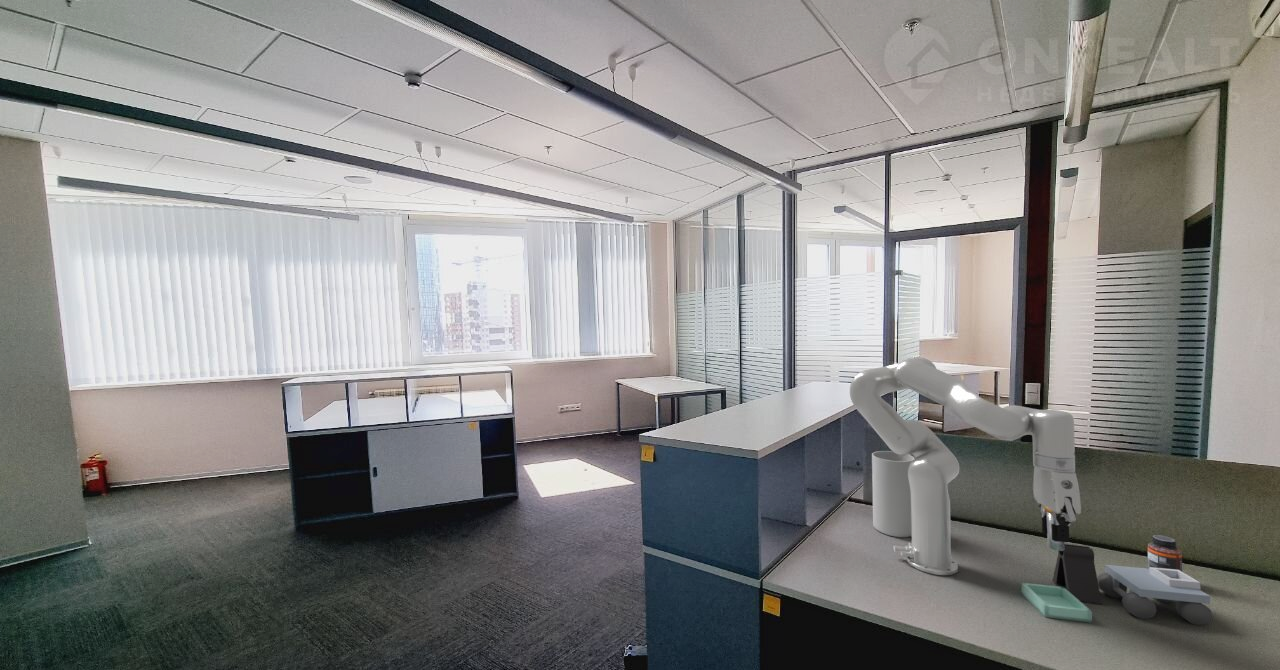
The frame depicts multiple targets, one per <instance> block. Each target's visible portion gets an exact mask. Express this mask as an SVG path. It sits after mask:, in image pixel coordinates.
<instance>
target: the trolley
mask: <svg viewBox="0 0 1280 670" xmlns="http://www.w3.org/2000/svg"><path fill="white" fill-rule="evenodd" d="M1097 580H1098V585H1099V590H1100V591H1102V592H1103V593H1104V594H1106V595H1107V596H1108V597H1111V598H1121V597H1122V598H1121V604H1122V606H1123V608H1124V609H1125V610H1127V611H1128V612H1129V613H1131V614H1132V615H1133V616H1134V617H1136V618H1137V619H1141V620H1148V619H1151V618H1153V617H1154V616H1155V615H1156V613H1157V607H1156V604H1155V602H1153V601H1152V600H1151V599H1155V600H1157V601H1158V602H1160V603H1165V604H1170V603H1173V602H1174V603H1175V611H1176V613H1177V614H1178V615H1179V616H1180V617H1181V618H1183V619H1185V620H1186V621H1188V622H1189V623H1190V624H1192V625H1195V626H1206V625H1208V624H1209V623H1211V622H1212V620H1213V612H1212V610H1211V608H1209V607H1208V606H1207V604H1208V605H1211V596H1210V595H1209V594H1207V593H1206V592H1204V591H1202V590H1201V582H1200V581H1198V580H1196V579H1195V578H1193V577H1192V576H1190V575H1189V574H1186V573H1185V572H1183V571H1182V572H1181V571H1180V570H1175V569H1164V568H1153V567H1149V569H1148V567H1147V568H1144V567H1133V566H1124V565H1113V564H1105V565H1104V572H1102V573H1100V574H1099V575H1097ZM1128 589H1129V592H1127V591H1128ZM1149 598H1150V599H1149ZM1205 604H1206V605H1205Z"/></svg>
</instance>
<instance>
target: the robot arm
mask: <svg viewBox="0 0 1280 670" xmlns="http://www.w3.org/2000/svg"><path fill="white" fill-rule="evenodd" d="M907 389H909V390H911V391H912V392H915V393H917V394H919V395H921V396H923V397H925V398H928V399H930V400H931V401H933V402H936V403H938V404H939V405H942V406H943V407H944V408H946V409H947V410H949V411H950V412H951V413H952V414H954V415H955V416H956V417H958V418H959V419H961V420H962V421H963V422H965V423H967V424H968V425H970V426H972V427H974V428H976V429H977V430H980V431H982V432H984V433H986V434H988V435H991V436H992V437H995V438H997V439H1000V440H1003V441H1004V440H1005V441H1014V440H1017V439H1020V438H1022V437H1024V436H1026V435H1029V436H1030V435H1031V436H1032V437H1031V438H1032V463H1033V464H1032V466H1033V467H1034V468H1033V480H1032V481H1033V483H1032V491H1033V498H1034V500H1035V501H1036V503H1038V505H1039V506H1038V507H1039V508H1040V515H1041V532H1042V534H1044V535H1047V512H1046V511H1045V510H1044V506H1045V507H1047V508H1048V509H1050V510H1052V512H1053V523H1054V524H1051V530H1052V540H1053V541H1057V542H1064V543H1069V542H1070V526H1071V524H1072V523H1073V522H1077V521H1076V520H1077V518H1076V515H1077V516H1079V515H1081V512H1082V506H1081V494H1080V487H1079V481H1078V477H1077V473H1076V454H1075V453H1076V450H1075V449H1076V448H1075V446H1076V445H1075V442H1076V441H1075V418H1074V416H1073V415H1072V414H1071V413H1069V412H1067V411H1064V410H1063V411H1062V410H1056V409H1037V408H1031V407H1026V406H1022V405H1014V404H1013V405H1007V406H1004V407H1002V406H999V405H997V404H994V403H992V402H990V401H988V400H986V399H985V398H983V397H981V396H979V395H977V394H976V393H975V392H973V391H972V390H971V389H970V388H969V386H968V384H967V383H966V382H965V381H964V380H962V379H960V378H958V377H956V376H954V375H951V374H949V373H947V372H944V371H943V370H940V369H938V368H937V367H936V365H935V364H934V363H933V361H931V360H930V359H927V358H925V357H912V358H906V359H903V360H902V361H899V362H897V363H895V364H894V363H893V364H890V365H886V366H881V367H876V368H869V369H864V370H862V371H860V372H858V373H856V375H854V377H853V378H852V380H851V382H850V385H849V397H850V400H851V402H852V404H853V406H854V408H855V410H857V412H858V413H859V414H860V415H861V416H862V417H863V418H864V420H866V422H867V423H868V424H869V425H870V427H871V428H872V429H873V430H874V431H875V432H876V434H877V435H878V436H879V437H880V439H881V440H882V441H883V442H884V443H885V444H886V445H887V447H888V449H890V451H893V452H894V453H896V454H898V455H902V456H906V455H911V456H913V457H914V460H913V461H912V462H911V463H910V465H909V468H908V479H909V485H910V492H911V528H912V536H911V542H909V541H908V544H907V545H904V546H901V545H895V544H894V545H893V546H892V547H893V551H894V553H895V554H896V553H897V554H898V553H899V554H900V556H901V557H905V560H906V561H907V563H908V564H909V565H910V566H912V568H915V569H917V570H918V571H921V572H925V573H926V574H927V573H928V574H931V575H936V576H951V575H954V574H955V575H956V573H957V572H958V570H959V567H958V564H957V561H955V560H954V559H952V547H951V546H952V545H951V543H952V541H951V538H952V537H951V536H952V533H951V530H952V529H951V501H950V495H949V489H948V484H949V483H950V482H952V481H953V480H954V479H956V477H957V476H958V475H959V472H960V463H959V461H958V459H957V458H956V456H955V455H954V453H953V452H952V451H951V450H950V449H949V448H948V446H946V444H944V443H943V442H942V440H941V439H940V438H939V437H938V435H936V434H935V433H934V431H932V430H931V428H930V427H928V426H927V425H926V424H924V423H923V422H921V421H919V420H915V419H904V418H903V417H902V416H901V415H900V414H899V413H898V412H897V410H895V408H894V407H893V406H892V405H891V404H889V403H888V402H886V401H885V399H883V398H882V397H881V396H882V395H886V394H890V393H893V392H898V391H902V390H907ZM1061 510H1064V512H1061ZM1058 515H1063V517H1062V516H1061V517H1060V518H1059V517H1058Z"/></svg>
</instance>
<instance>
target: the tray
mask: <svg viewBox="0 0 1280 670" xmlns="http://www.w3.org/2000/svg"><path fill="white" fill-rule="evenodd" d="M1020 586H1021V587H1020V589H1021V590H1020V593H1021V594H1022V595H1023V596H1024V597H1025V599H1027V600H1028V601H1029V603H1031V604H1032V605H1033V606H1034V608H1036V610H1038V612H1040V614H1042V616H1043V617H1044V618H1049V619H1059V620H1066V621H1067V620H1068V621H1075V622H1076V621H1077V622H1085V623H1093V611H1092V610H1091V609H1090V608H1089V607H1087V605H1085V604H1084V602H1081V601H1079V600H1078V599H1077V598H1076V597H1075V596H1073V595H1072V594H1071V593H1070V592H1069V591H1068V590H1066V589H1065V588H1064V587H1058V586H1057V585H1045V584H1039V583H1037V584H1036V583H1030V582H1029V583H1028V582H1020Z"/></svg>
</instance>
